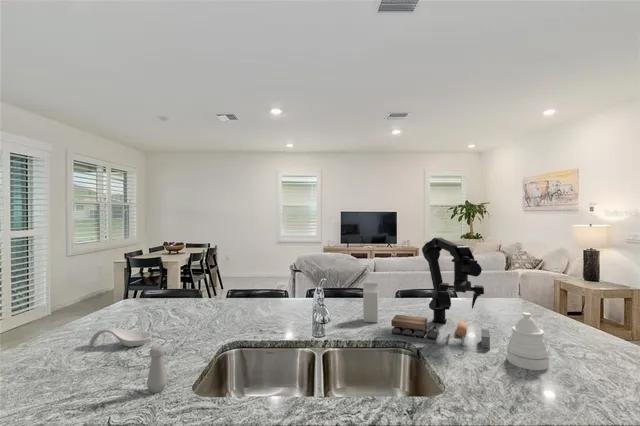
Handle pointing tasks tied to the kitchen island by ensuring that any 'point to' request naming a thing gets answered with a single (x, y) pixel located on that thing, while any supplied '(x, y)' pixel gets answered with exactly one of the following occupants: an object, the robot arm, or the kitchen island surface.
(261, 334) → the kitchen island surface
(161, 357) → the salt shaker
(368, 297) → the milk carton
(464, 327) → the roller
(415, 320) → the slab
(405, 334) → the track
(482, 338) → the block
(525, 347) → the honey pot
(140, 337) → the spoon rest
